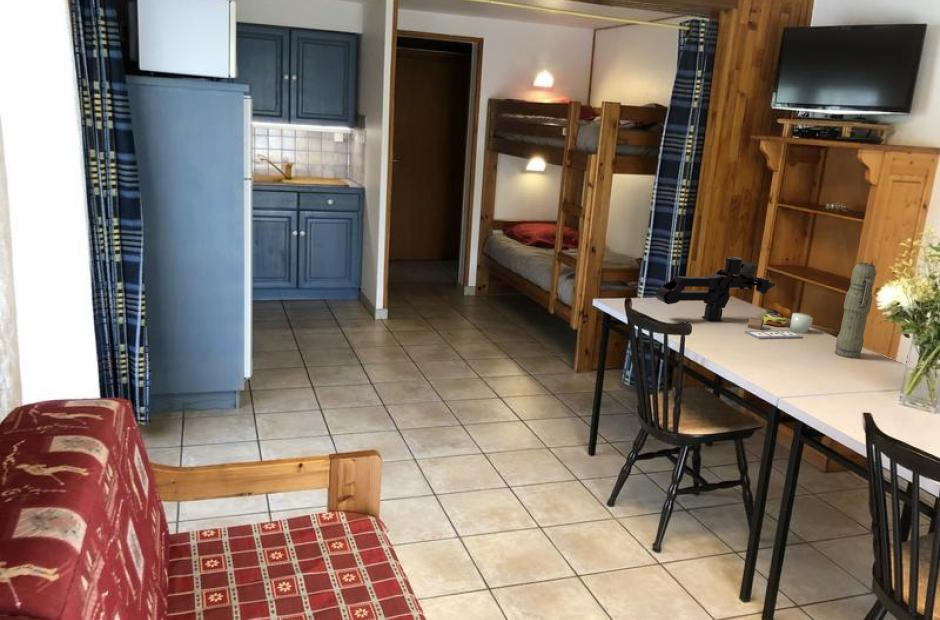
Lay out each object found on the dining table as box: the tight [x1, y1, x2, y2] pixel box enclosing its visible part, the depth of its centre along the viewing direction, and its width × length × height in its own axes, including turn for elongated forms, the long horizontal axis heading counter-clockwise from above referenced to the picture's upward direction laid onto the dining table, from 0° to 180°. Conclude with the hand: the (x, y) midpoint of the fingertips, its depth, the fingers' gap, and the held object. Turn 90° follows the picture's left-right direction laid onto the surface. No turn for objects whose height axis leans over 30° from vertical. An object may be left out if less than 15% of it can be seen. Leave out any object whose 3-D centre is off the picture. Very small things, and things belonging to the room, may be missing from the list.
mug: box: [788, 312, 814, 335], centre depth 320 cm, size 9×7×7 cm
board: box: [744, 329, 804, 340], centre depth 311 cm, size 21×9×1 cm, turn 108°
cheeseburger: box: [762, 302, 792, 327], centre depth 329 cm, size 10×11×10 cm
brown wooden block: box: [747, 316, 764, 331], centre depth 321 cm, size 5×5×4 cm
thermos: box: [834, 261, 877, 359], centre depth 287 cm, size 9×12×35 cm
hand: (767, 281), depth 333 cm, fingers open, 9 cm apart
